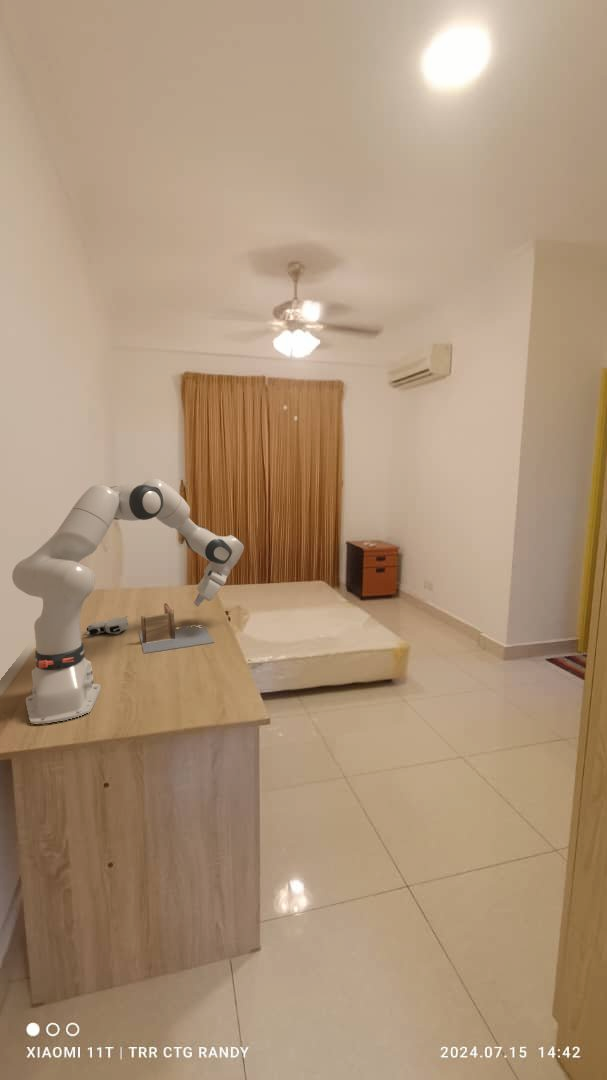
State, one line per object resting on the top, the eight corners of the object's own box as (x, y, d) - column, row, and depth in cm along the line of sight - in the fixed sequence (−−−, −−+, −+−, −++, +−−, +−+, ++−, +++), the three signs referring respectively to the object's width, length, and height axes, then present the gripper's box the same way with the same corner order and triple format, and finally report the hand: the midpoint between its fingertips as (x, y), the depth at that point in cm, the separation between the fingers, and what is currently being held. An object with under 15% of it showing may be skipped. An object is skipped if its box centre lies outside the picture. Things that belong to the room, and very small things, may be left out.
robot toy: (84, 642, 176) (127, 635, 179) (82, 630, 175) (125, 624, 178) (90, 631, 187) (130, 624, 191) (89, 620, 187) (129, 614, 190)
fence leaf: (168, 627, 186) (166, 603, 185) (173, 636, 176) (172, 610, 175) (165, 628, 186) (163, 603, 184) (170, 637, 176) (169, 611, 174)
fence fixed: (175, 639, 175) (174, 610, 173) (143, 644, 170) (141, 614, 168) (174, 638, 176) (173, 609, 174) (142, 642, 172) (140, 613, 170)
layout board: (214, 642, 171) (213, 641, 171) (144, 653, 162) (143, 652, 162) (202, 624, 191) (202, 623, 191) (139, 633, 182) (139, 632, 182)
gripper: (205, 566, 193) (186, 595, 192) (212, 574, 174) (191, 606, 172) (218, 574, 195) (199, 603, 194) (226, 582, 176) (206, 614, 174)
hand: (195, 604), depth 183 cm, fingers closed
